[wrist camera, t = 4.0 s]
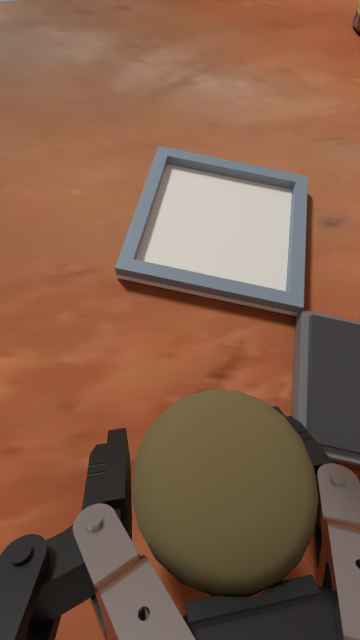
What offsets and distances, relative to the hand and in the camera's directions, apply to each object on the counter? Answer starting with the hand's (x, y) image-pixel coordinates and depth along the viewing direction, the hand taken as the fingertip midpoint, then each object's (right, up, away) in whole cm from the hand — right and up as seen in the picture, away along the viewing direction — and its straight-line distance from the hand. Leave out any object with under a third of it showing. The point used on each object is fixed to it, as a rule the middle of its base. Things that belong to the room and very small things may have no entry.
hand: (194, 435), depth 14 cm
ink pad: (+11, 0, +6) cm, 13 cm away
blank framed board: (+2, +12, +12) cm, 17 cm away
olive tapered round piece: (0, -4, +4) cm, 5 cm away
